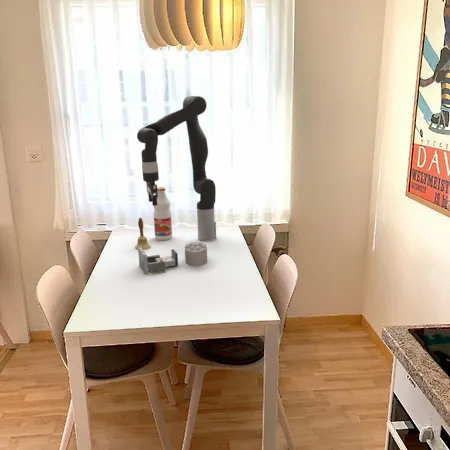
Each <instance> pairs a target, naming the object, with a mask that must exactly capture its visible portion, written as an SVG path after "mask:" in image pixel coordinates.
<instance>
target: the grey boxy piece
mask: <svg viewBox="0 0 450 450" xmlns="http://www.w3.org/2000/svg"><path fill="white" fill-rule="evenodd" d="M170 252H171V255H169V256H163V257H161V256H160V258H155V262H159V261H162V262H163V263H164V262H165V268H167V267H172V266H174V267H179V256H178V253H177V251H176V250H175V249H170Z"/></svg>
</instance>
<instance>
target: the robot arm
mask: <svg viewBox="0 0 450 450" xmlns="http://www.w3.org/2000/svg"><path fill="white" fill-rule="evenodd" d="M207 108H208V107H207V101H206V99H205V98H204V97H202V96H200V95H187V96H185V97H184V99H183V101H182V108H180V109H179V110H176V111H173V112H171V113H168V114H166V115H164V116H163V117H161V118H159V119H158V120H156V121H154V122H152V123H151V124H147V125H145V126H143V127H142V128H140V129H139V130H138V132H137V134H136V138H137V140H138V142H140V143H141V144H144V149H142V150H141V153H140V154H141V170H142V180H143V181H144V182H145V183H146V184H145V185H146V192H147V194H148V201H149V203H151V204H152V206H153V207H154V206H156V205H157V197H158V192H157V188H158V185H157V184H156V182H157V181H159V179H160V177H159V165H158V160H157V158H158V157H157V150H158V143H159V136H164V135H165V134H167V133H168V132H170V131H171V130H173V129H175V128H176V127H178V126H179V125H182V124H183V123H184V122H185V123H186V129H187V137H188V143H189V151H190V158H191V160H190V161H191V166H192V167H191V168H192V183H193V190H194V191H195V192H196V194H199V201H197V203H196V220H197V221H196V222H197V240H198V241H201V242H202V241H204V242H205V241H206V242H210V241H213V240H215V239H217V222H216V221H215V203H216V194H217V193H216V192H217V191H216V184H215V182H214V180H212V179H210V178H207V171H206V163H207V160H208V157H209V148H208V146H209V145H208V140H207V137H206V134H205V133H204V131H203V129H202V127H201V125H200V122H199V115H202V114H204V113H205V111H206V109H207Z"/></svg>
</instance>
